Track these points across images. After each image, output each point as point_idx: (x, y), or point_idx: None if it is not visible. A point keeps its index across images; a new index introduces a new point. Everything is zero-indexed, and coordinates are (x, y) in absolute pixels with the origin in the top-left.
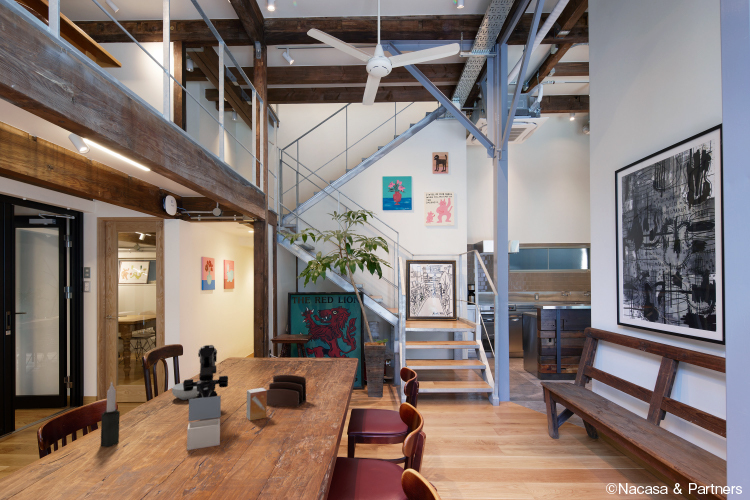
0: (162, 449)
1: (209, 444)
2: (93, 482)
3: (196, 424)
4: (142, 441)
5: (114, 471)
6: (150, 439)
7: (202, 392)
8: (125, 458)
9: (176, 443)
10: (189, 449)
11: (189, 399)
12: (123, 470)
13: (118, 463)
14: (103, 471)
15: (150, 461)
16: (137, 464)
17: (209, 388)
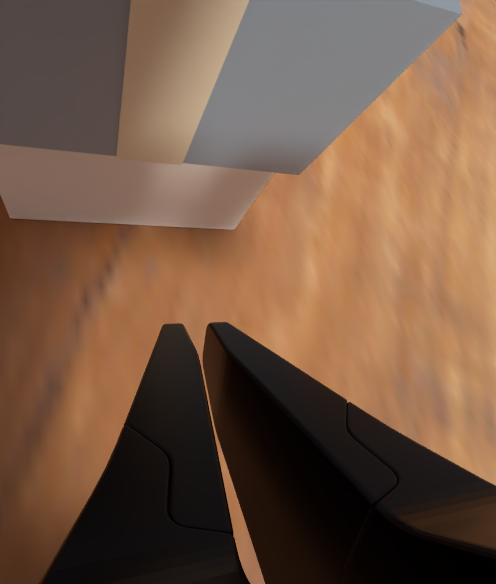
0: (353, 192)
1: None
2: (480, 28)
3: None
4: (490, 357)
5: (457, 70)
6: (463, 374)
7: (341, 407)
8: (472, 169)
9: (302, 244)
10: None
11: (455, 6)
12: (431, 61)
13: (475, 133)
14: (491, 91)
15: None
16: (403, 84)
17: (147, 531)
